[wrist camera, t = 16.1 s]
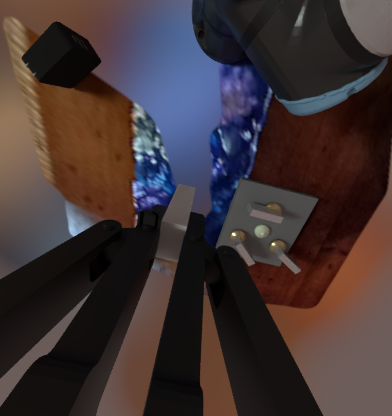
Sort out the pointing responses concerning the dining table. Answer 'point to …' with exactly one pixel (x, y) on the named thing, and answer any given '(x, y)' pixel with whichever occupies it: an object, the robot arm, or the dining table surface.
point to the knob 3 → (283, 254)
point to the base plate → (260, 228)
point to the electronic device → (61, 57)
